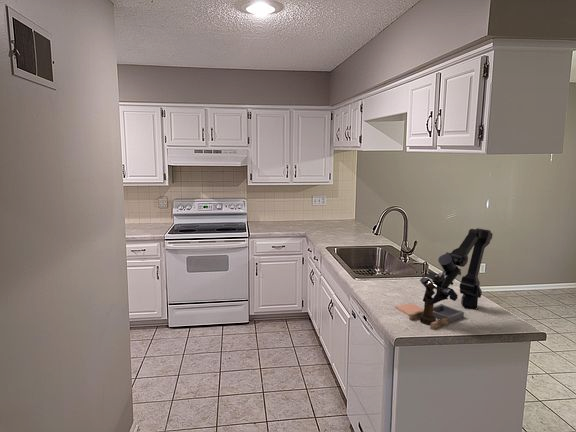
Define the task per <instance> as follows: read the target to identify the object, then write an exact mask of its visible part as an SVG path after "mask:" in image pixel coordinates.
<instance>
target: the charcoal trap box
mask: <svg viewBox="0 0 576 432" xmlns="http://www.w3.org/2000/svg"><path fill="white" fill-rule="evenodd" d="M433 315H434V316H435V317H436V318H437V319H436V320H439V319H443V318H448V324H450V323H452V322H451V321H453V322H455V321H457V320H456V319H458V320H460V319H459V318H461V319H463V318H464V317H465V312H464V311H462V310H459V309H456V308H454V307H451V306H449V305H445V304H443V303H439V304H438V305H434V306H433ZM462 317H463V318H462ZM454 320H455V321H454ZM449 322H450V323H449Z"/></svg>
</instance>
